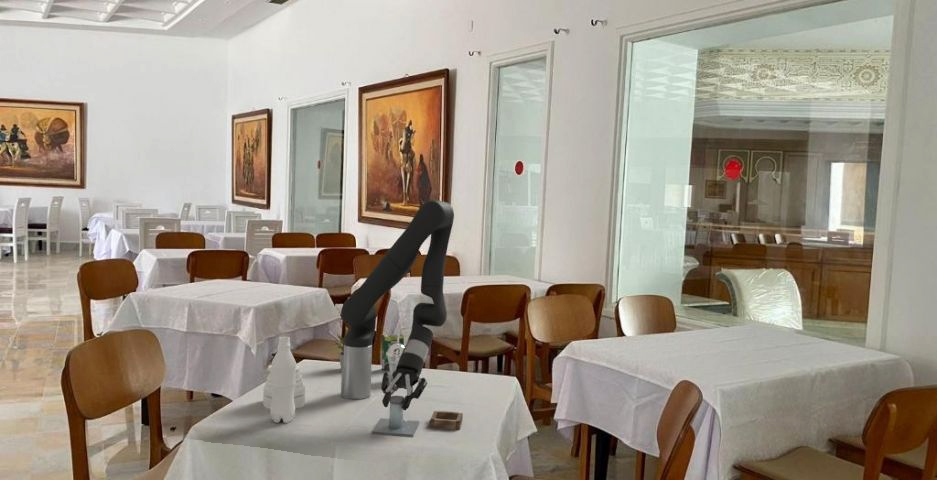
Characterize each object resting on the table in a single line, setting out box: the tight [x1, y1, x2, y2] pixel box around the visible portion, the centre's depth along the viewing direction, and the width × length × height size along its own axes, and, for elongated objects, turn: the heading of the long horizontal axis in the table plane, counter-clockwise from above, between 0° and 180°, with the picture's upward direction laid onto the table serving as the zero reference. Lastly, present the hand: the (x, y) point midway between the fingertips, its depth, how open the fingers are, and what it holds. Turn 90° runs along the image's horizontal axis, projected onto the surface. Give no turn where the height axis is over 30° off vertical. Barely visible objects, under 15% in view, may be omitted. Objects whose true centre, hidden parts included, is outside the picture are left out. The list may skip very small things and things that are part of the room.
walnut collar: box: [429, 410, 464, 431], centre depth 232 cm, size 9×9×2 cm
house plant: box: [330, 326, 349, 371], centre depth 289 cm, size 14×14×16 cm
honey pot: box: [262, 345, 306, 410], centre depth 244 cm, size 13×13×18 cm
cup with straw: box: [386, 325, 412, 383], centre depth 275 cm, size 8×9×20 cm
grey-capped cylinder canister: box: [388, 395, 405, 428], centre depth 226 cm, size 4×4×8 cm
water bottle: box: [269, 336, 297, 424], centre depth 227 cm, size 7×7×25 cm
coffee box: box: [381, 333, 405, 372], centre depth 291 cm, size 8×3×13 cm, turn 114°
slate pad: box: [371, 417, 421, 437], centre depth 226 cm, size 12×12×1 cm
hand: (394, 407), depth 224 cm, fingers open, 5 cm apart
